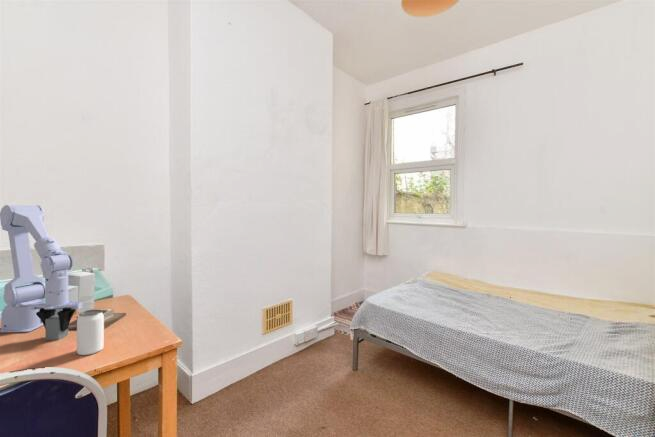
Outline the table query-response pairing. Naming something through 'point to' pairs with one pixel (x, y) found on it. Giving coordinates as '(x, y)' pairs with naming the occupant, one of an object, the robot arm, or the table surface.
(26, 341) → the table surface
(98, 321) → the can
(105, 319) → the socket board
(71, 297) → the skincare box
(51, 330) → the grey peg
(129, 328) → the table surface
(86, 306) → the skincare box
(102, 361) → the table surface
